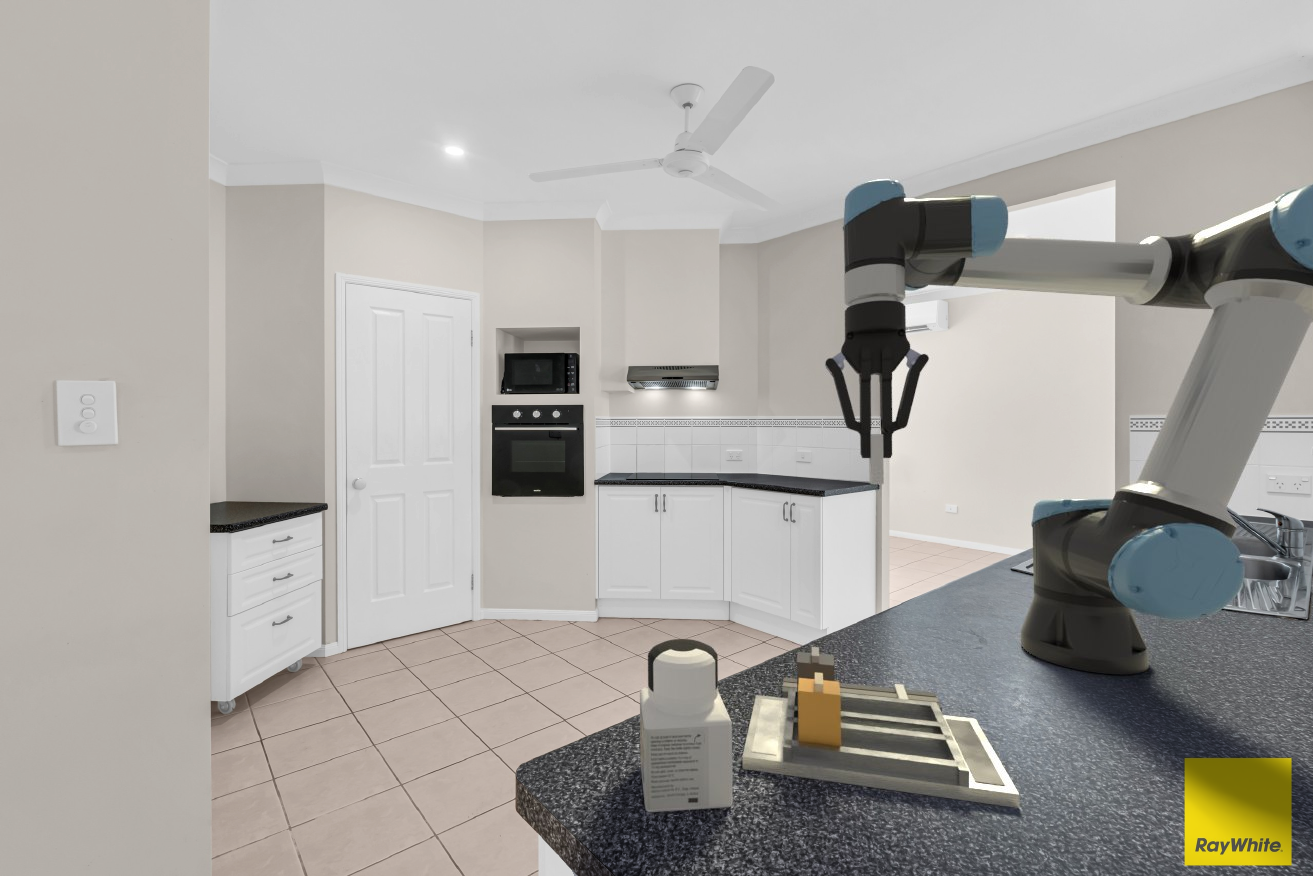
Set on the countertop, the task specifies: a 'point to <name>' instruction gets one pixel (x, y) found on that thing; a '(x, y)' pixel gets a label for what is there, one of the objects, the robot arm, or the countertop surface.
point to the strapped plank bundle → (873, 691)
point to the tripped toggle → (819, 711)
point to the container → (684, 730)
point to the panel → (882, 749)
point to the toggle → (814, 666)
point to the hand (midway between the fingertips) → (876, 483)
